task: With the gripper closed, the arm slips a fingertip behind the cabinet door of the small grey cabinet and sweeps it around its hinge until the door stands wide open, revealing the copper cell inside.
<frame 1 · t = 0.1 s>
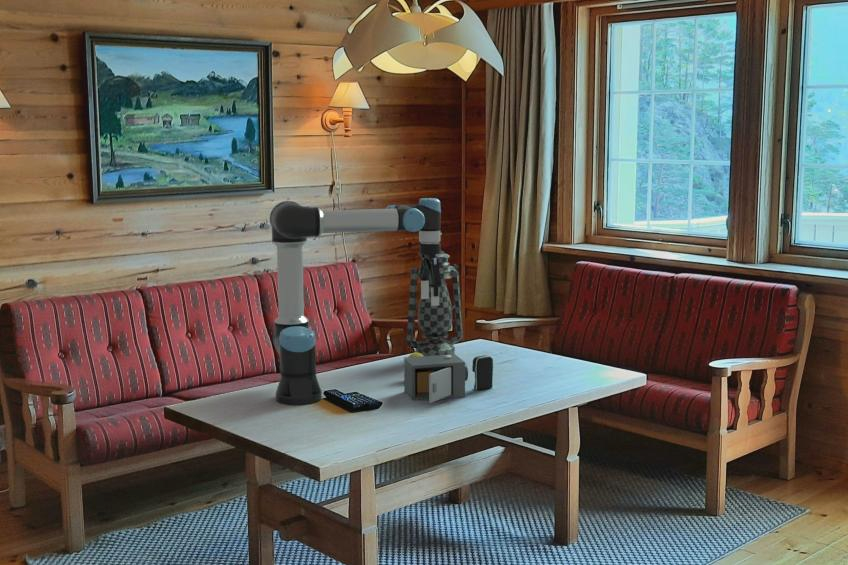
hand: (430, 302, 360), 28 cm above the table, fingers open, 13 cm apart
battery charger: (482, 388, 352), on the table
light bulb: (416, 380, 363), on the table
lantern: (435, 361, 390), on the table
small grey cabinet: (434, 394, 344), on the table
cabinet door: (441, 384, 333), point 6 cm above the table, hinge at 40.0°
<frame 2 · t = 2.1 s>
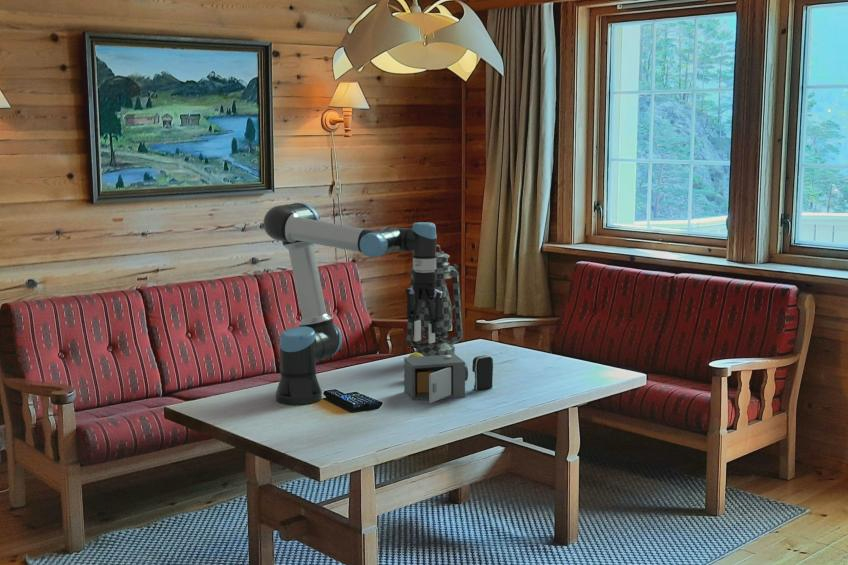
hand: (424, 341, 330), 21 cm above the table, fingers open, 5 cm apart
nothing on the table moved.
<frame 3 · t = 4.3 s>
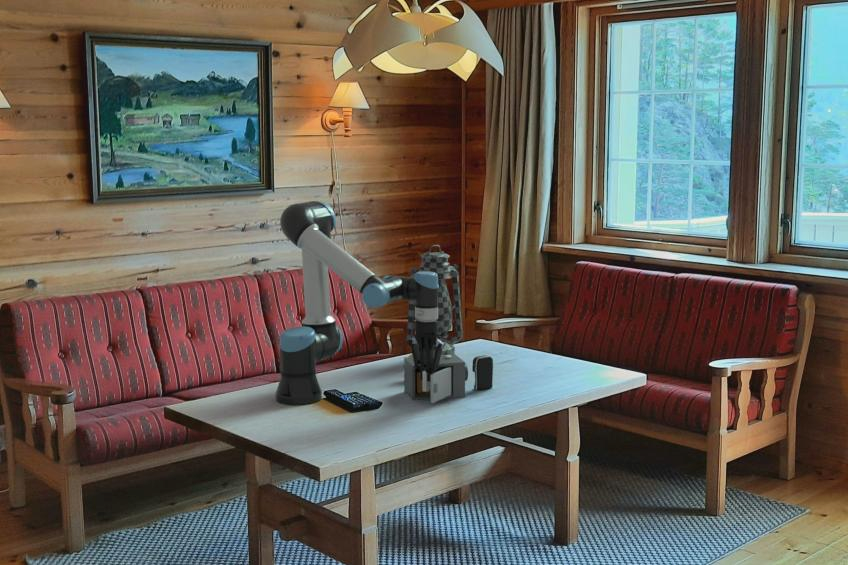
hand: (426, 390, 332), 4 cm above the table, fingers closed
cabinet door: (441, 384, 333), point 6 cm above the table, hinge at 42.6°, touching gripper
everything else where it was.
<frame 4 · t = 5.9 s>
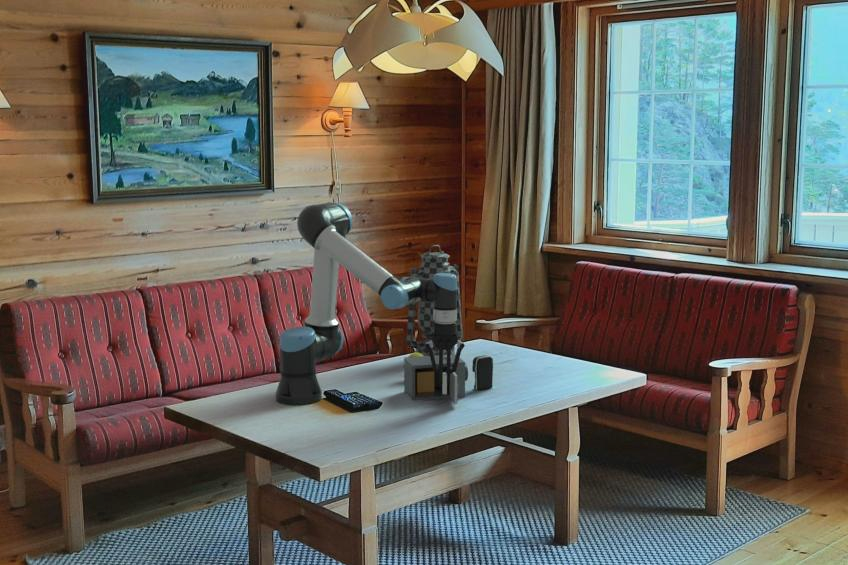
hand: (444, 393, 329), 4 cm above the table, fingers closed
cabinet door: (454, 385, 333), point 6 cm above the table, hinge at 81.4°, touching gripper
everything else where it was.
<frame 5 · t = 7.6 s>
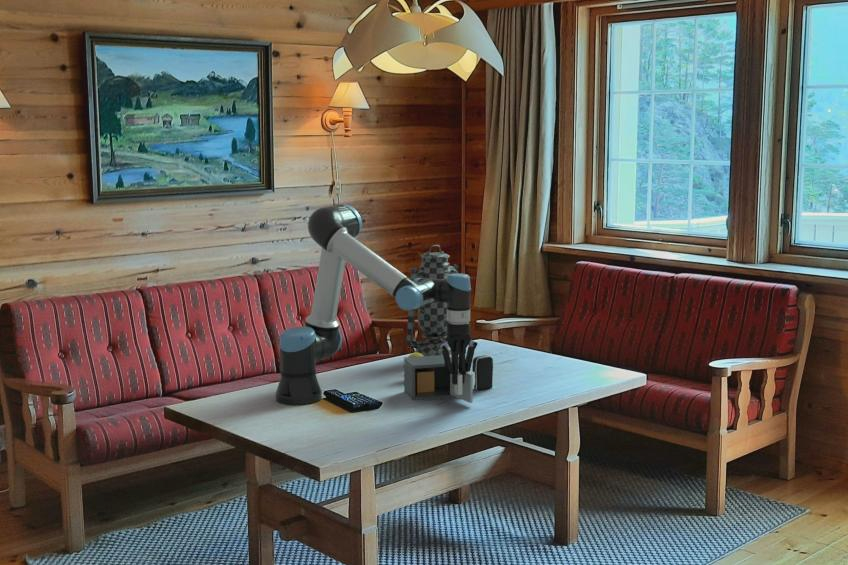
hand: (458, 393, 329), 4 cm above the table, fingers closed
cabinet door: (462, 384, 334), point 6 cm above the table, hinge at 107.2°
everything else where it was.
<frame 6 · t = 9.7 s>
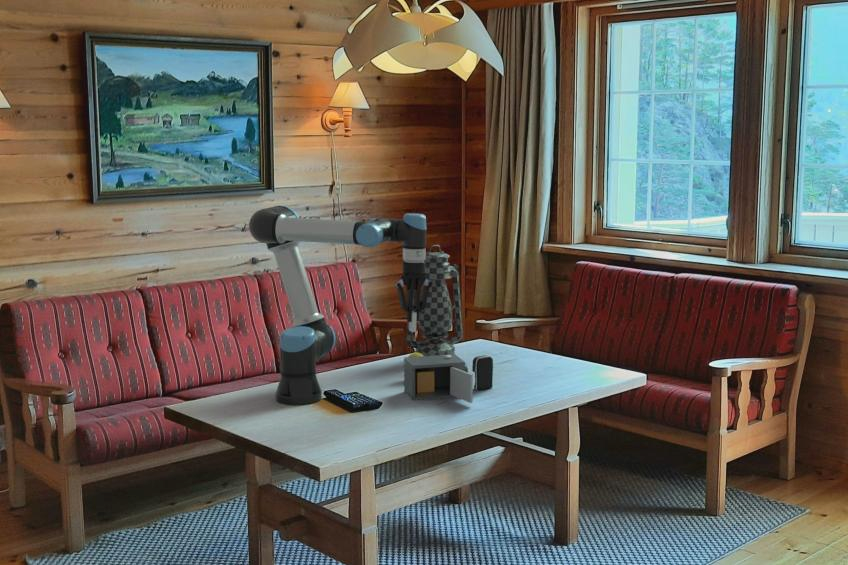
hand: (412, 331, 338), 23 cm above the table, fingers closed
nothing on the table moved.
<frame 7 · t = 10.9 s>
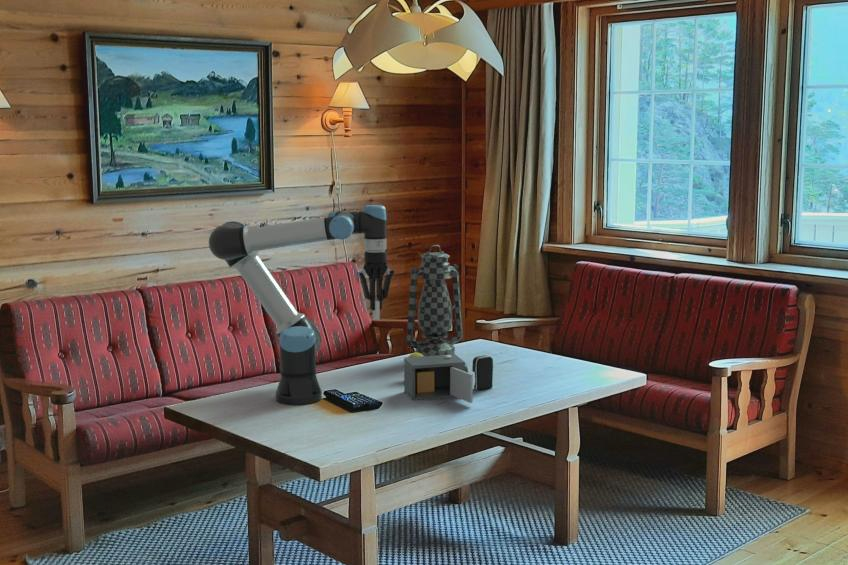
hand: (376, 319, 348), 24 cm above the table, fingers closed
nothing on the table moved.
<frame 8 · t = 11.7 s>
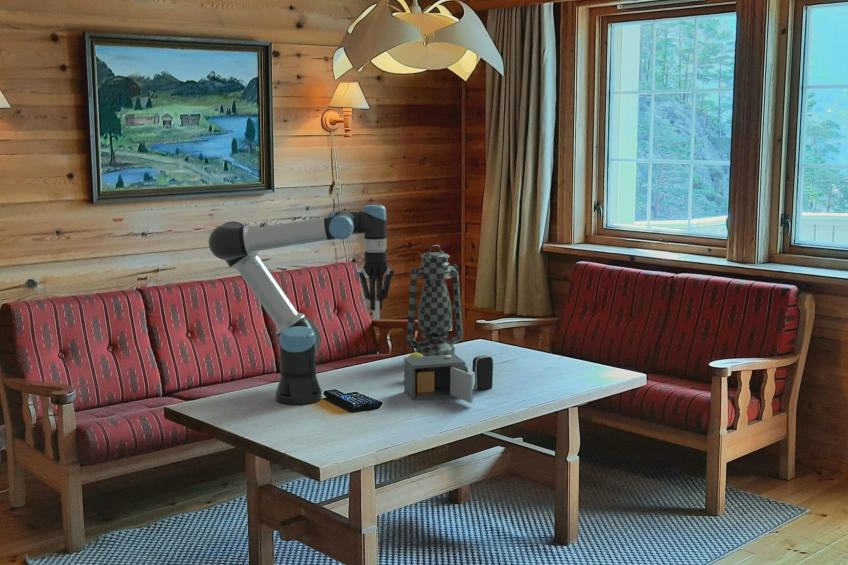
hand: (376, 319, 348), 24 cm above the table, fingers closed
nothing on the table moved.
at the end: cabinet door at +107° (first picture: +40°); cabinet door touching nothing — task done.
